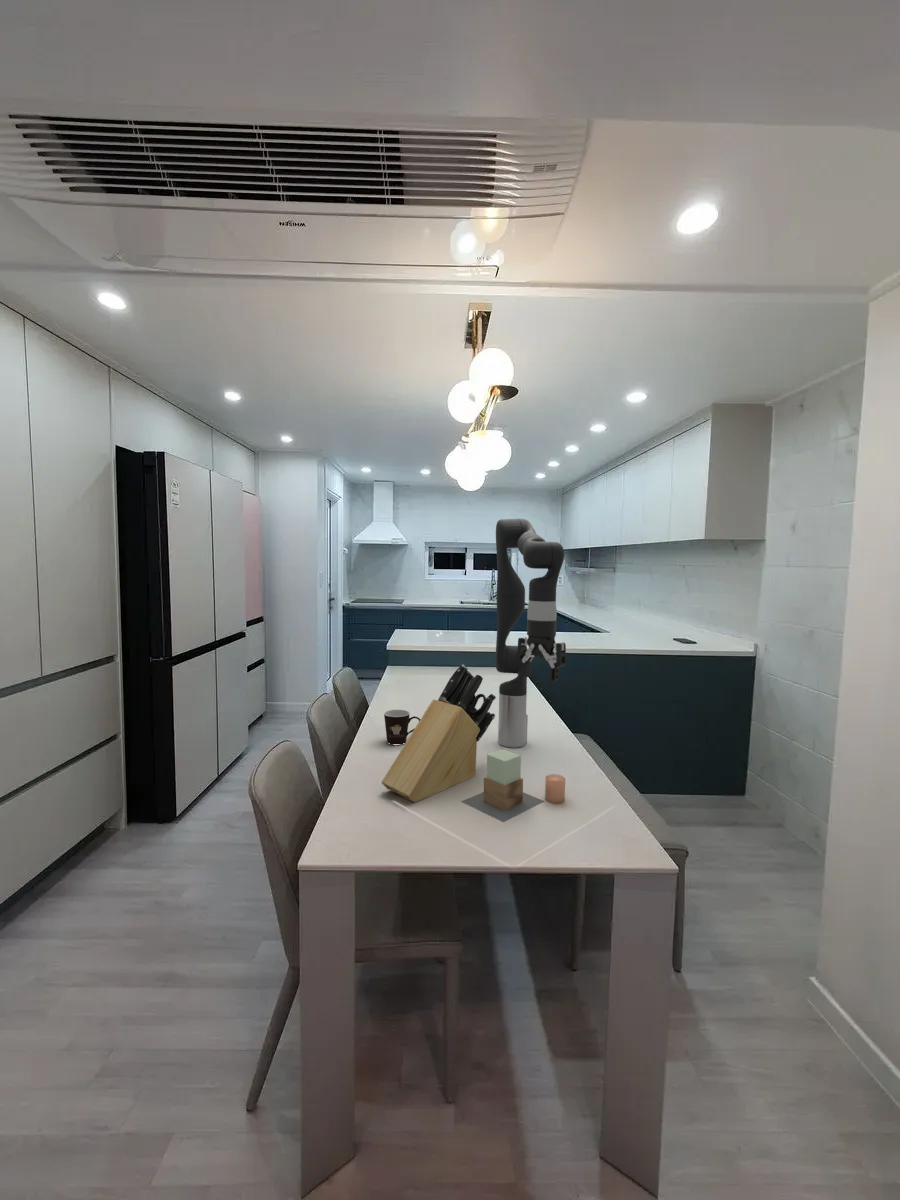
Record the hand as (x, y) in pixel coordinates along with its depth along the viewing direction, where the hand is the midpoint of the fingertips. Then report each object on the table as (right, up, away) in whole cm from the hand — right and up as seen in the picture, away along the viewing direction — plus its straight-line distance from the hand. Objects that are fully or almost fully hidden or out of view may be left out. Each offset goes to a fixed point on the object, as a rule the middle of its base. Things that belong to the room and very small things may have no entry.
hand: (540, 679), depth 137 cm
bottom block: (-10, -30, -6) cm, 32 cm away
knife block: (-26, -30, +8) cm, 40 cm away
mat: (-10, -31, -6) cm, 33 cm away
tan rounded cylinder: (+3, -31, -4) cm, 31 cm away
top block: (-10, -24, -6) cm, 27 cm away
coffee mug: (-40, -27, +37) cm, 62 cm away
